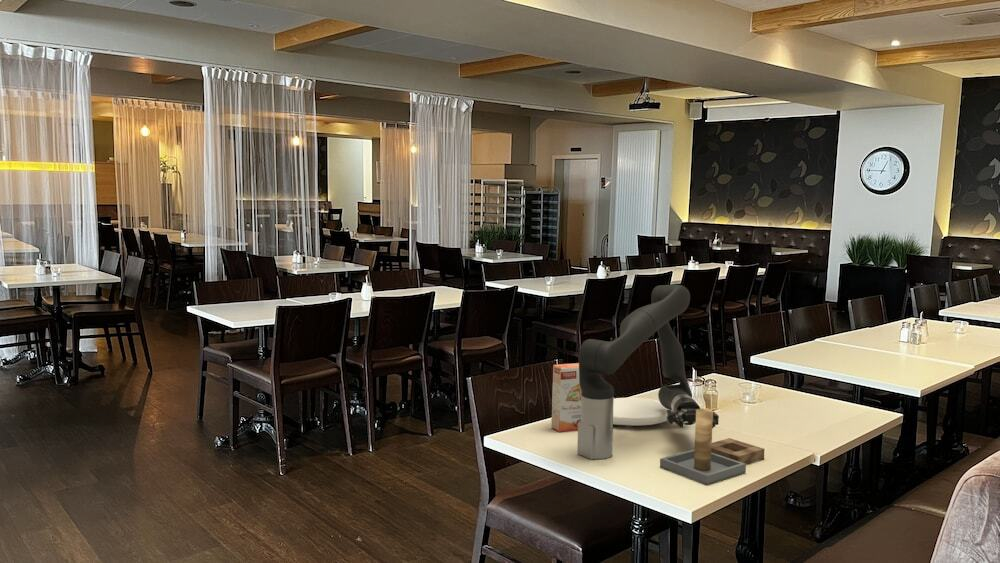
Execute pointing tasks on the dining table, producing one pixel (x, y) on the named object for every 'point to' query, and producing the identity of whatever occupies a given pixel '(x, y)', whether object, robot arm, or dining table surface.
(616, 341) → the robot arm
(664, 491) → the dining table surface
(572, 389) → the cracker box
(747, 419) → the dining table surface
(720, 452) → the socket block
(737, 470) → the tray
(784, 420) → the dining table surface
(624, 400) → the plate
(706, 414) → the dowel
